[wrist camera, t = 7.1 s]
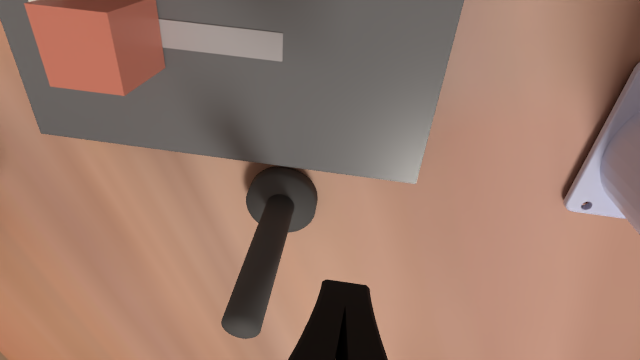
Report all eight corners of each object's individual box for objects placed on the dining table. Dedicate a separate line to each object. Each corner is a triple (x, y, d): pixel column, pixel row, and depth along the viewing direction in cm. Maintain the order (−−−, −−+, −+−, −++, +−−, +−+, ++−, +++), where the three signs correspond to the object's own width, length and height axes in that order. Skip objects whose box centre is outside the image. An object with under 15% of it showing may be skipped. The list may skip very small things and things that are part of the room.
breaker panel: (483, -108, 14) (493, -111, 13) (413, 168, 21) (415, 184, 20) (-28, -154, 16) (-65, -161, 14) (59, 121, 22) (40, 133, 21)
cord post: (319, 171, 22) (291, 300, 14) (315, 225, 24) (288, 361, 17) (249, 162, 22) (186, 285, 15) (251, 217, 24) (197, 348, 17)
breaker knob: (155, -4, 16) (107, 12, 13) (165, 67, 18) (124, 95, 15) (86, -12, 16) (23, 3, 14) (102, 60, 18) (50, 86, 15)
